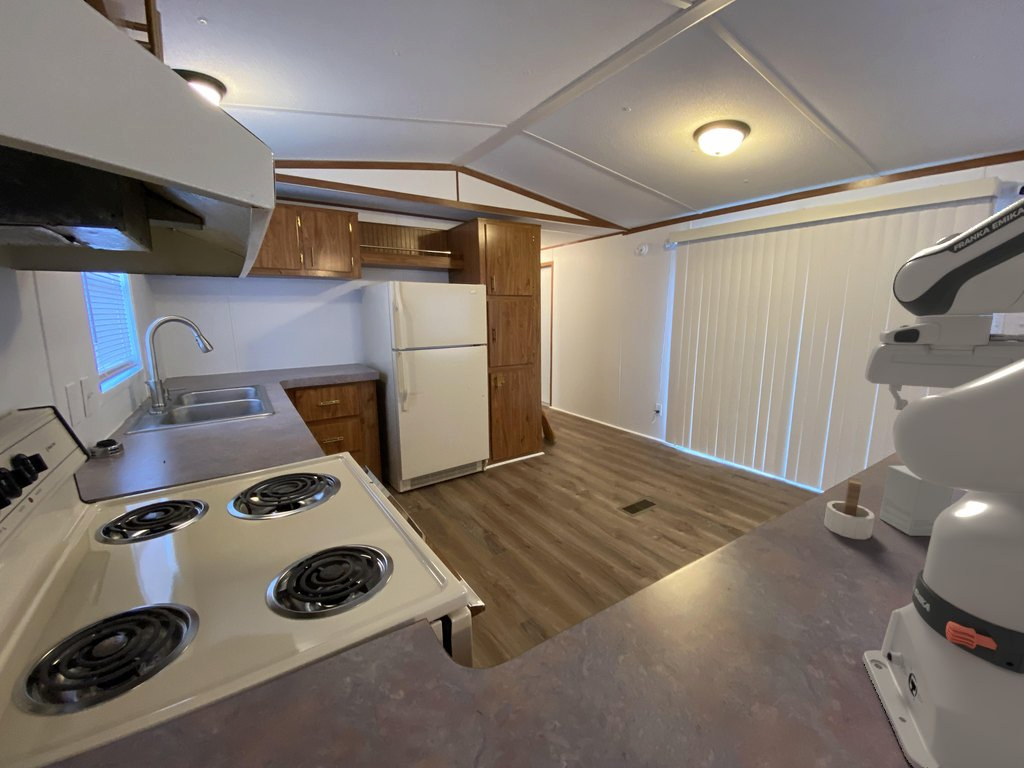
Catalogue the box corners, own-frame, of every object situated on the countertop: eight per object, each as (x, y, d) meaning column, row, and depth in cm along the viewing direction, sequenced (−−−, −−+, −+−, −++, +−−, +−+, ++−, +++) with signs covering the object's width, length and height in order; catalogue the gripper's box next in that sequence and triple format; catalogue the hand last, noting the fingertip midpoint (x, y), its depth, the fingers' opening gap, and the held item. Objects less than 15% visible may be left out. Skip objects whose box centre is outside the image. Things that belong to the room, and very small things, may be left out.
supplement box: (945, 536, 83) (958, 479, 81) (908, 536, 83) (920, 479, 81) (911, 517, 90) (922, 464, 88) (877, 517, 91) (887, 464, 88)
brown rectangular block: (853, 529, 84) (861, 484, 82) (842, 526, 85) (849, 482, 83) (852, 523, 87) (860, 479, 85) (842, 520, 88) (848, 477, 86)
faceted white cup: (872, 543, 81) (876, 523, 80) (824, 531, 85) (827, 511, 84) (868, 526, 87) (871, 507, 86) (823, 516, 91) (826, 497, 90)
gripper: (1036, 333, 65) (1019, 417, 68) (869, 332, 77) (859, 403, 79) (1056, 335, 60) (1037, 425, 62) (874, 333, 72) (864, 409, 74)
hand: (937, 412), depth 71 cm, fingers open, 8 cm apart
